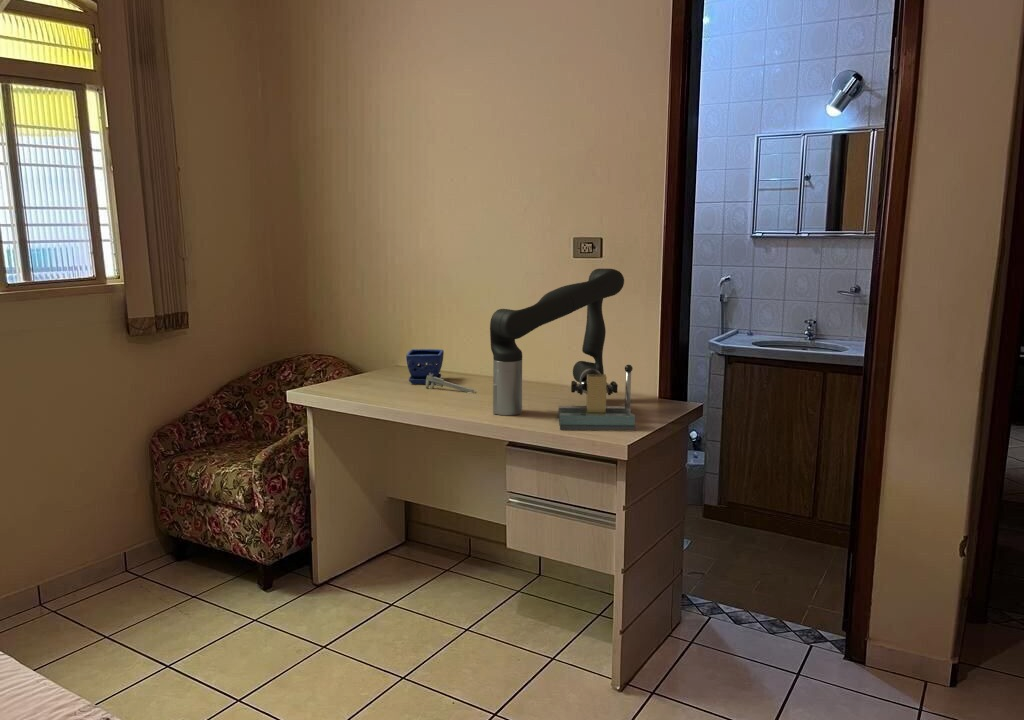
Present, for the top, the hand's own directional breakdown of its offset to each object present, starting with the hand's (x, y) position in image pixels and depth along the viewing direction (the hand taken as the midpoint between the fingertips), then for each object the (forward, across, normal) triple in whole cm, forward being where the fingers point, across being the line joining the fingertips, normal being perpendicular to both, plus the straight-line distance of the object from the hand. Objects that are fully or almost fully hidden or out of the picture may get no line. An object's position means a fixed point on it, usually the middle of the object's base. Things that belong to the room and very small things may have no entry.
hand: (595, 391), depth 238 cm
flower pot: (-63, -60, +10) cm, 88 cm away
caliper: (-48, -49, +10) cm, 69 cm away
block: (+2, 0, +9) cm, 9 cm away
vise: (+1, 0, +10) cm, 10 cm away
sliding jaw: (-5, 0, +9) cm, 10 cm away
